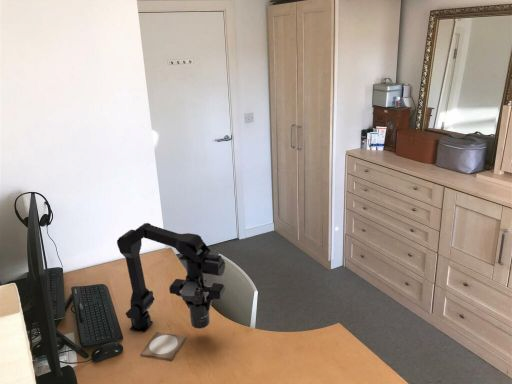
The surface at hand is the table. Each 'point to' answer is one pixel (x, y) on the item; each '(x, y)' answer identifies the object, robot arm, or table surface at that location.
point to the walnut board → (163, 346)
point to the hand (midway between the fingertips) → (199, 309)
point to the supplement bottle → (199, 313)
